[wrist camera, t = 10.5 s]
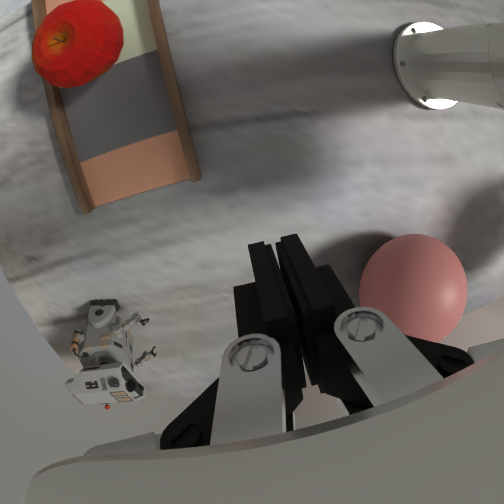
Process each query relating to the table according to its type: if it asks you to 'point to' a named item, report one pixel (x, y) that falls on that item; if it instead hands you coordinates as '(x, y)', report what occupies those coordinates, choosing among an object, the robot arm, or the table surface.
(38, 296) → the table surface
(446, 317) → the balloon
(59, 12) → the apple
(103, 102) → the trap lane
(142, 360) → the figurine
